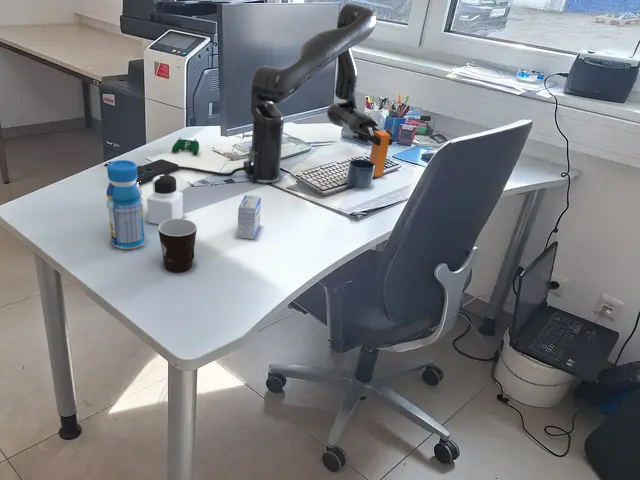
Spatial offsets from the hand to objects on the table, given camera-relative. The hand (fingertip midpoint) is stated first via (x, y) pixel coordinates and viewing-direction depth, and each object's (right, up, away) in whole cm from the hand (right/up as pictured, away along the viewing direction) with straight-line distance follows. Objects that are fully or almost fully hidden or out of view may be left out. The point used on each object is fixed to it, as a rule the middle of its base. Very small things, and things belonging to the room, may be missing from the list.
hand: (385, 142), depth 174 cm
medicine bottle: (-65, -28, -25) cm, 75 cm away
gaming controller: (-64, +2, +20) cm, 67 cm away
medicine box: (-43, -32, -29) cm, 61 cm away
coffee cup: (-8, -13, +1) cm, 16 cm away
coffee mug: (-60, -42, -45) cm, 86 cm away
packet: (-1, -8, +9) cm, 12 cm away
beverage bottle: (-73, -35, -36) cm, 89 cm away
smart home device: (-74, -10, +1) cm, 75 cm away
